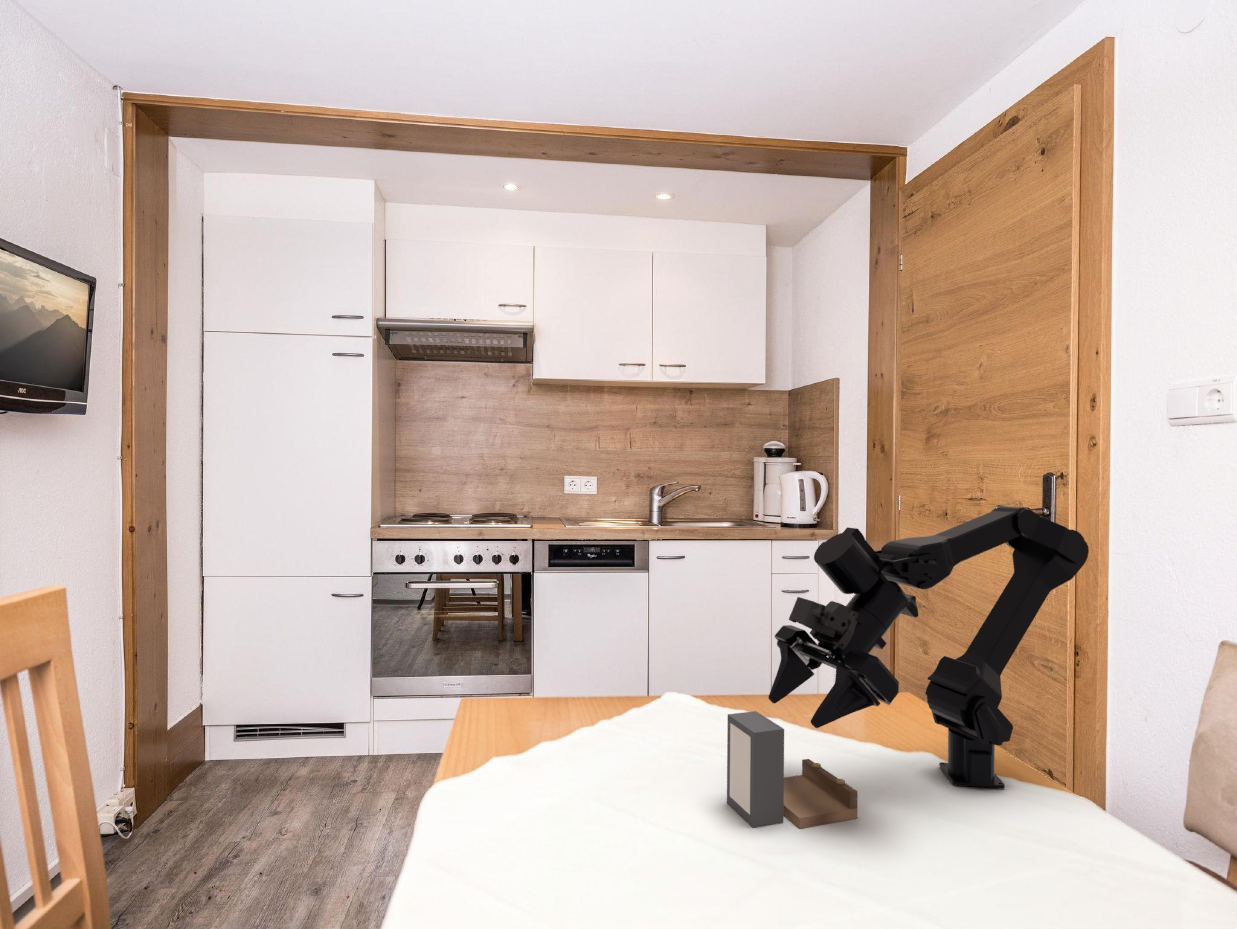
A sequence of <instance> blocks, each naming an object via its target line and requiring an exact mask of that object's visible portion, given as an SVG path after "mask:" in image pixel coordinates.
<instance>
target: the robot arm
mask: <svg viewBox="0 0 1237 929" xmlns="http://www.w3.org/2000/svg"><path fill="white" fill-rule="evenodd" d="M1004 544H1006V545H1007V546H1008V547H1009V548H1011V549H1013V551H1012V554H1011V556H1012V557H1011V558H1012V566H1013V574H1012V576H1011V577H1010V579H1009V580H1008V582H1007V584H1006V585H1005V587H1004V588H1003V590H1002V592H1001V594H1000V595H999V597H998V599H997V600H996V602H995V604H994V606H993V607H992V609H991V610H990V611H989V613H988V615H987V616H986V619H985V620H984V621H983V623H982V624H981V626H980V628H979V629H978V631H977V633H976V634H975V636H974V638H973V639H972V640H971V643H970V645H969V646H968V648H967V649H966V651H965V652H964V653H963V654H962V655H961V656H959V657H957V658H953V657H949V656H947V655H944V656H942V658H941V659H940V660H938V664H937V666H936V668H935V670H934V671H933V672H932V673H931V674H930V675H929V676H928V677H927V680H928V681H929V682H928V685H927V687H926V690H925V695H926V700H927V701H926V702H927V705H928V708H929V709H930V710H931V713H932V718H933V720H934V723H935V724H937V725H940V726H942V727H944V728H947V762H941V761H940V762H938V763H939V764H938V766H940V767H939V768H940V769H941V771H942V772H943V773H944V775H945V776H946V775H947V776H946V777H947V779H949V781H950V780H951V781H952V782H951V781H950V782H951V784H953V785H954V784H956V785H955V786H961V787H962V786H963V787H975V788H977V787H979V788H993V789H994V788H995V789H996V788H997V789H1005V786H1006V784H1005V783H1004V782H1003V781H1002V779H1001V778H1000V777H998V775H997V774H996V773H995V769H996V768H995V767H996V766H995V765H996V764H995V761H996V760H995V757H996V756H995V754H996V753H995V750H996V749H995V747H996V746H1002V745H1003V743H1007V742H1009V741H1010V740H1011V736H1012V733H1013V729H1014V725H1013V724H1012V723H1011V721H1010V720H1009V719H1008V718H1007V717H1006V716H1005V715H1004V713H1003V712H1002V711H1001V710H1000V709H999V706H1000V704H1001V701H1002V698H1003V693H1002V681H1001V679H1002V678H1001V675H1002V674H1003V671H1004V670H1005V668H1006V666H1007V665H1008V663H1009V661H1010V659H1011V658H1012V656H1013V655H1014V653H1015V652H1016V650H1017V647H1018V646H1019V645H1020V643H1021V641H1022V639H1023V637H1024V636H1025V634H1026V633H1027V631H1028V629H1029V627H1030V626H1031V624H1032V622H1033V621H1034V620H1035V618H1036V616H1037V615H1038V613H1039V611H1040V609H1041V607H1042V606H1043V604H1044V602H1045V601H1046V598H1047V597H1048V595H1049V594H1050V592H1052V591H1053V590H1055V589H1056V588H1058V587H1060V586H1062V585H1064V584H1066V583H1067V582H1069V581H1071V580H1073V578H1074V577H1075V576H1076V575H1077V574H1078V572H1079V571H1080V569H1082V568H1083V566H1084V565H1085V564H1086V562H1087V560H1088V557H1089V552H1090V548H1089V545H1088V543H1087V541H1086V540H1085V538H1084V536H1083V535H1082V533H1080V532H1079V531H1078V530H1075V529H1071V528H1070V529H1069V528H1067V527H1066V526H1064V525H1061V524H1059V523H1057V522H1054V521H1052V520H1050V519H1047V518H1045V517H1042V516H1040V515H1039V514H1037V513H1036V512H1034V511H1033V510H1031V509H1029V508H1028V507H1023V506H1007V505H1006V506H1005V505H1003V506H998V507H995V508H993V509H992V510H991V511H990V512H988V513H986V514H982V515H980V516H978V517H976V518H973V519H971V520H968V521H966V522H963V523H961V524H958V525H956V526H954V527H951V528H949V529H946V530H943V531H941V532H938V533H935V534H934V535H933V534H932V535H927V536H915V537H906V538H901V539H896V540H891V541H888V542H887V543H885V544H883V546H882V547H881V549H878V550H877V549H876V550H874V548H873V547H872V546H871V545H870V543H869V542H868V541H867V540H866V538H865V536H864V534H863V533H862V531H860V529H859V528H856V527H846V528H845V529H844V531H843V532H842V533H838V534H836V535H835V534H834V535H833V536H831V537H829V538H828V539H826V541H822V542H821V543H820V544H819V545H818V546H817V548H816V549H815V552H814V555H813V560H814V562H815V563H816V565H817V566H819V568H820V569H821V570H822V572H824V574H825V575H826V576H827V577H828V578H829V580H830V581H831V582H832V583H833V584H834V586H836V588H837V589H838V590H839V591H840V592H841V593H842V594H845V595H852V594H854V595H853V596H852V597H851V599H850V600H849V601H848V602H847V604H846V605H844V604H843V603H839V602H837V601H833V600H832V601H831V600H830V601H829V602H828V603H827V604H826V605H824V604H821V603H819V602H816V601H813V600H810V599H807V598H803V597H800V596H797V598H796V600H795V603H794V605H793V608H792V610H791V613H790V615H789V617H788V620H789V621H790V622H793V623H794V624H796V623H797V624H801V625H803V626H804V627H805V628H808V629H811V630H810V631H809V633H808V632H807V631H806V630H804V629H803V628H800V627H797V626H794V625H792V624H790V625H787V624H785V625H782V626H781V627H780V628H779V629H778V631H777V632H776V633H775V634H774V638H775V640H776V646H777V647H778V648H779V652H780V662H779V665H778V670H777V672H776V675H775V677H774V680H773V683H772V686H771V689H770V692H769V695H768V700H769V701H770V702H771V703H772V704H774V705H775V704H777V703H778V702H780V701H782V700H783V699H784V698H786V697H787V696H788V695H789V694H791V693H792V692H794V690H796V689H797V688H798V687H800V686H801V685H802V684H804V683H805V682H807V681H808V680H810V678H812V677H813V676H814V675H815V673H814V672H813V671H814V670H817V669H818V668H820V667H821V666H822V664H823V665H825V666H828V667H831V668H832V669H835V680H834V684H833V686H832V687H831V688H830V690H829V691H828V693H827V694H826V696H824V697H825V698H824V699H823V700H822V702H821V703H820V705H819V706H818V708H816V710H815V712H814V714H813V716H812V717H811V720H810V724H811V725H812V726H813V727H814V729H815V728H816V729H819V728H821V727H824V726H826V725H828V724H831V723H832V722H835V721H837V720H840V719H842V718H844V717H846V716H848V715H851V714H854V713H855V712H859V711H861V710H864V709H867V708H871V707H872V706H875V707H879V706H880V705H881V703H883V704H885V705H889V706H890V705H891V704H892V703H893V701H894V700H895V699H896V697H897V695H899V692H900V691H899V689H900V688H899V687H900V686H899V685H900V681H898V679H897V678H896V677H895V675H894V674H893V673H892V672H891V671H890V669H889V668H888V667H887V666H886V665H885V664H884V663H883V662H882V660H881V659H880V658H879V657H878V656H876V655H872V654H871V652H872V651H873V650H874V649H875V648H877V649H880V650H883V649H884V648H885V647H886V645H887V644H888V643H887V642H886V641H885V639H883V637H884V635H886V633H887V631H888V630H889V629H890V628H891V627H892V625H893V624H894V622H895V621H896V620H897V618H899V616H900V615H904V616H907V617H912V618H918V617H919V608H918V606H917V602H916V600H917V597H916V596H915V595H913V594H907V593H906V592H905V591H904V590H903V588H901V586H907V587H910V588H916V589H919V590H920V589H921V590H927V589H932V588H933V587H935V586H937V585H938V584H939V583H941V582H942V581H944V580H945V579H947V578H948V577H949V576H950V575H952V574H951V573H952V572H953V570H954V568H955V566H957V565H959V564H960V563H962V562H964V561H966V560H969V559H972V558H973V557H976V556H978V555H980V554H982V553H986V552H987V551H990V550H992V549H994V548H996V547H999V546H1002V545H1004ZM900 585H901V586H900ZM815 640H816V641H817V642H818V643H817V642H816V641H815Z"/></svg>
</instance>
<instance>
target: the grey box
mask: <svg viewBox="0 0 1237 929" xmlns="http://www.w3.org/2000/svg"><path fill="white" fill-rule="evenodd" d="M726 739H727V740H726V741H727V744H726V745H727V746H726V748H727V751H726V753H727V756H726V757H727V758H726V768H727V769H726V804H727V805H728V806H729V807H730V808H731V809H732V810H733V811H734V812H735V813H736V814H738V815H739V816H740V817H741V818H742V819H743V820H744V821H745V822H746V823H747V824H748V825H749V826H751V827H752V828H753V829H755V828H757V829H758V828H762V827H767V826H773V825H779V824H784V815H783V814H784V778H785V776H784V775H785V728H784V727H782V726H780V725H778V724H777V723H776V722H774V721H772V720H771V719H769V718H768V717H767V716H764V715H763V714H762V713H760V712H758V711H756V710H754V711H745V712H738V713H737V712H735V713H729V714H728V713H727V738H726Z"/></svg>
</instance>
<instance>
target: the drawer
mask: <svg viewBox="0 0 1237 929" xmlns="http://www.w3.org/2000/svg"><path fill="white" fill-rule="evenodd" d="M801 761H802V762H801V774H799V775H794V776H793V775H792V776H787V777H786V776H784V814H783V817H785V818H786V819H788V820H789V821H790V822H791V823H792V824H793V825H795V826H796V827H797V828H798V829H805V828H810V827H816V826H817V827H818V826H822V825H828V824H833V823H838V822H844V821H850V820H855V819H858V790H856V789H855V788H853V787H852V786H850V785H849V784H848V783H846V780H845V779H843V778H838V777H837V776H835V775H834V774H832V773H831V772H829V771H828V770H826V769H825V768H823V767H822V765H821V763H818V762H814V761H813V760H811V759H809V758H806V759H805V758H804V759H801Z"/></svg>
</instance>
